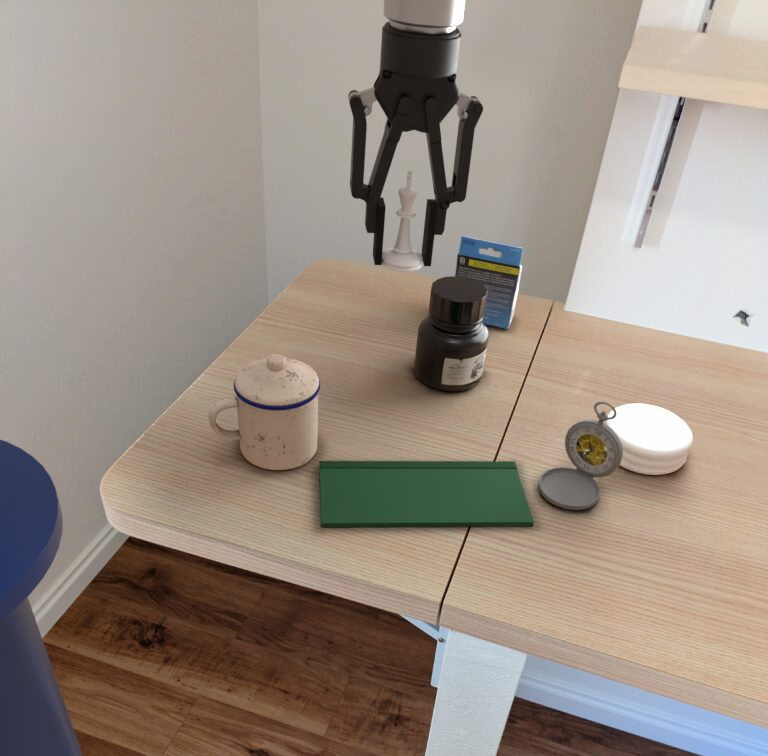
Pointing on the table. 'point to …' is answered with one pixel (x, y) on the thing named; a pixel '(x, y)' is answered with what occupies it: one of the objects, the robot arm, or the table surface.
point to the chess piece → (404, 235)
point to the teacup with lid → (274, 412)
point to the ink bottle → (453, 335)
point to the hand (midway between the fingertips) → (401, 260)
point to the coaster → (650, 438)
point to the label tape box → (492, 276)
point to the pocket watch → (583, 464)
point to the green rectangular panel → (422, 494)
